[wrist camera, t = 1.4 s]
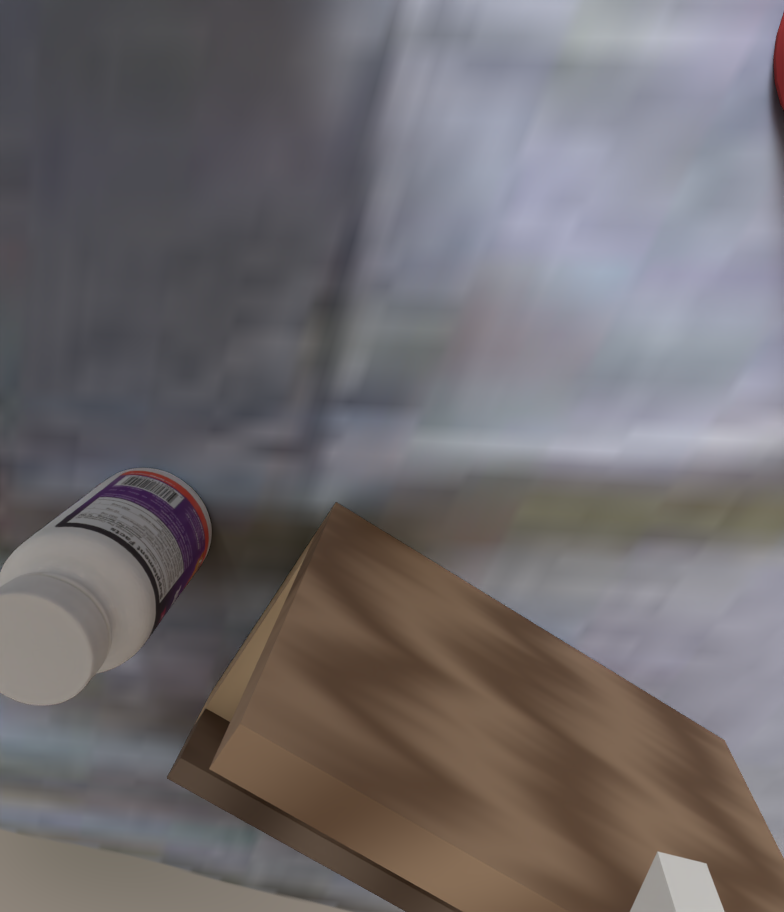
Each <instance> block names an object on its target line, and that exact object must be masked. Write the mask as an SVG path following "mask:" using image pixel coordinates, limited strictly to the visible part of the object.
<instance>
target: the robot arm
mask: <svg viewBox="0 0 784 912" xmlns="http://www.w3.org/2000/svg"><path fill="white" fill-rule="evenodd" d="M630 912H724V909H723V906H722V904H721V901H720V898H719V896H718V893H717V890H716V888H715V885H714V882H713V880H712V877H711V875H710V872H709V869H708V867H707V864H706V863H702V862H698V861H694V860H690V859H686V858H682V857H678V856H674V855H670V854H666V853H662V852H658V851H657V854H656V856H655V858H654V860H653V862H652V864H651V867H650V869H649V871H648V873H647V875H646V878H645V880H644V882H643V884H642V886H641V888H640V891H639V893H638V895H637V897H636V899H635V901H634V904H633V906H632V908H631V910H630Z"/></svg>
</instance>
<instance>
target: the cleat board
mask: <svg viewBox="0 0 784 912" xmlns="http://www.w3.org/2000/svg"><path fill="white" fill-rule="evenodd" d="M167 779H169V780H171V781H173V782H175V783H176V784H178V785H180V786H182V787H184V788H185V789H187V790H189V791H191V792H192V793H194V794H196V795H198V796H200V797H201V798H203V799H205V800H207V801H209V802H210V803H212V804H214V805H216V806H218V807H219V808H221V809H223V810H225V811H227V812H228V813H230V814H232V815H234V816H236V817H237V818H239V819H241V820H243V821H244V822H246V823H248V824H250V825H252V826H253V827H255V828H257V829H259V830H261V831H262V832H264V833H266V834H268V835H270V836H271V837H273V838H275V839H277V840H279V841H280V842H282V843H284V844H286V845H288V846H289V847H291V848H293V849H295V850H297V851H298V852H300V853H302V854H304V855H305V856H307V857H309V858H311V859H313V860H314V861H316V862H318V863H320V864H322V865H323V866H325V867H327V868H329V869H331V870H332V871H334V872H336V873H338V874H340V875H341V876H343V877H345V878H347V879H349V880H350V881H352V882H354V883H356V884H357V885H359V886H361V887H363V888H365V889H366V890H368V891H370V892H372V893H374V894H375V895H377V896H379V897H381V898H383V899H384V900H386V901H388V902H390V903H392V904H393V905H395V906H397V907H399V908H401V909H402V910H404V911H406V912H630V910H631V908H632V906H633V904H634V901H635V899H636V897H637V895H638V893H639V891H640V888H641V886H642V884H643V882H644V880H645V878H646V875H647V873H648V871H649V869H650V867H651V864H652V862H653V860H654V858H655V856H656V854H657V851H658V852H662V853H666V854H670V855H674V856H678V857H682V858H686V859H690V860H694V861H698V862H702V863H706V864H707V867H708V869H709V872H710V875H711V877H712V880H713V882H714V885H715V888H716V890H717V893H718V896H719V898H720V901H721V904H722V906H723V909H724V912H784V858H783V856H782V854H781V852H780V850H779V848H778V846H777V844H776V842H775V840H774V838H773V836H772V834H771V832H770V830H769V828H768V826H767V824H766V822H765V820H764V818H763V816H762V814H761V812H760V810H759V808H758V806H757V804H756V802H755V800H754V798H753V796H752V794H751V792H750V790H749V788H748V786H747V784H746V782H745V780H744V778H743V776H742V774H741V772H740V770H739V768H738V766H737V764H736V762H735V760H734V758H733V756H732V754H731V752H730V750H729V748H728V746H727V744H726V742H725V740H723V739H721V738H720V737H718V736H717V735H715V734H713V733H712V732H710V731H708V730H707V729H705V728H704V727H702V726H700V725H699V724H697V723H695V722H694V721H692V720H691V719H689V718H687V717H686V716H684V715H682V714H681V713H679V712H677V711H676V710H674V709H673V708H671V707H669V706H668V705H666V704H664V703H663V702H661V701H660V700H658V699H656V698H655V697H653V696H651V695H650V694H648V693H647V692H645V691H643V690H642V689H640V688H638V687H637V686H635V685H633V684H632V683H630V682H629V681H627V680H625V679H624V678H622V677H620V676H619V675H617V674H616V673H614V672H612V671H611V670H609V669H607V668H606V667H604V666H603V665H601V664H599V663H598V662H596V661H594V660H593V659H591V658H589V657H588V656H586V655H585V654H583V653H581V652H580V651H578V650H576V649H575V648H573V647H572V646H570V645H568V644H567V643H565V642H563V641H562V640H560V639H558V638H557V637H555V636H554V635H552V634H550V633H549V632H547V631H545V630H544V629H542V628H541V627H539V626H537V625H536V624H534V623H532V622H531V621H529V620H528V619H526V618H524V617H523V616H521V615H519V614H518V613H516V612H514V611H513V610H511V609H510V608H508V607H506V606H505V605H503V604H501V603H500V602H498V601H497V600H495V599H493V598H492V597H490V596H488V595H487V594H485V593H484V592H482V591H480V590H479V589H477V588H475V587H474V586H472V585H470V584H469V583H467V582H466V581H464V580H462V579H461V578H459V577H457V576H456V575H454V574H453V573H451V572H449V571H448V570H446V569H444V568H443V567H441V566H440V565H438V564H436V563H435V562H433V561H431V560H430V559H428V558H426V557H425V556H423V555H422V554H420V553H418V552H417V551H415V550H413V549H412V548H410V547H409V546H407V545H405V544H404V543H402V542H400V541H399V540H397V539H396V538H394V537H392V536H391V535H389V534H387V533H386V532H384V531H382V530H381V529H379V528H378V527H376V526H374V525H373V524H371V523H369V522H368V521H366V520H365V519H363V518H361V517H360V516H358V515H356V514H355V513H353V512H351V511H350V510H348V509H347V508H345V507H343V506H342V505H340V504H338V503H337V502H336V503H335V504H334V506H333V507H332V509H331V510H330V512H329V513H328V515H327V516H326V518H325V520H324V521H323V523H322V524H321V526H320V527H319V529H318V530H317V532H316V533H315V535H314V536H313V538H312V539H311V541H310V542H309V544H308V545H307V547H306V548H305V550H304V552H303V553H302V555H301V556H300V558H299V559H298V561H297V562H296V564H295V565H294V567H293V568H292V570H291V571H290V573H289V574H288V576H287V577H286V579H285V580H284V582H283V584H282V585H281V587H280V588H279V590H278V591H277V593H276V594H275V596H274V597H273V599H272V600H271V602H270V603H269V605H268V606H267V608H266V609H265V611H264V613H263V614H262V616H261V617H260V619H259V620H258V622H257V623H256V625H255V626H254V628H253V629H252V631H251V632H250V634H249V635H248V637H247V638H246V640H245V641H244V643H243V645H242V646H241V648H240V649H239V651H238V652H237V654H236V655H235V657H234V658H233V660H232V661H231V663H230V664H229V666H228V667H227V669H226V670H225V672H224V673H223V675H222V677H221V678H220V680H219V681H218V683H217V684H216V686H215V687H214V689H213V690H212V692H211V694H210V696H209V698H208V700H207V701H206V703H205V705H204V707H203V709H202V711H201V713H200V715H199V717H198V719H197V721H196V723H195V724H194V726H193V728H192V730H191V732H190V734H189V736H188V738H187V740H186V742H185V744H184V746H183V748H182V749H181V751H180V753H179V755H178V757H177V759H176V761H175V763H174V765H173V767H172V769H171V771H170V772H169V774H168V776H167Z"/></svg>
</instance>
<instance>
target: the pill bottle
mask: <svg viewBox="0 0 784 912" xmlns="http://www.w3.org/2000/svg"><path fill="white" fill-rule="evenodd" d="M211 537H212V528H211V522H210V518H209V514H208V512H207V509H206V507H205V505H204V503H203V502H202V500H201V499H200V497H199V496H198V494H197V493H196V492H195V491H194V490H193V489H192V488H191V487H190V486H189V485H188V484H186V483H185V482H184V481H183V480H181V479H179V478H178V477H176V476H174V475H172V474H170V473H168V472H165V471H162V470H159V469H153V468H133V469H128V470H124V471H121V472H119V473H117V474H115V475H113V476H111V477H110V478H108V479H107V480H105V481H104V482H102V483H101V484H99V485H98V486H96V487H95V488H94V489H93V490H91V491H90V492H89V493H87V494H86V495H85V496H83V497H82V498H81V499H80V500H78V501H77V502H76V503H74V504H73V505H72V506H70V507H69V508H68V509H66V510H65V511H64V512H63V513H61V514H60V515H58V516H57V517H56V518H54V519H53V520H52V521H51V522H49V523H48V524H47V525H45V526H44V527H43V528H41V529H40V530H38V531H37V532H36V533H34V534H33V535H32V536H31V537H29V538H28V539H27V540H26V541H25V542H24V543H22V544H21V545H20V546H19V547H18V548H17V549H15V550H14V552H13V553H12V554H11V555H10V556H9V558H8V559H7V560H6V562H5V564H4V565H3V567H2V570H1V572H0V693H2V694H3V695H5V696H7V697H9V698H11V699H13V700H16V701H18V702H22V703H26V704H30V705H53V704H59V703H62V702H64V701H67V700H69V699H71V698H73V697H74V696H76V695H77V694H78V693H80V692H81V690H82V689H83V688H84V687H85V686H86V685H87V684H88V682H89V681H90V680H91V679H92V678H93V677H94V675H95V674H96V673H101V672H105V671H108V670H110V669H113V668H115V667H117V666H119V665H121V664H123V663H124V662H126V661H127V660H129V659H130V658H131V657H133V656H134V655H135V654H136V653H137V652H138V651H139V650H140V648H141V647H142V646H143V645H144V644H145V642H146V641H147V640H148V638H149V637H150V636H151V634H152V633H153V631H154V630H155V628H156V627H157V626H158V624H159V623H160V621H161V620H162V618H163V617H164V616H165V614H166V613H167V611H168V610H169V609H170V607H171V606H172V604H173V603H174V602H175V600H176V599H177V598H178V596H179V595H180V593H181V592H182V591H183V589H184V588H185V587H186V585H187V584H188V582H189V581H190V580H191V578H192V577H193V576H194V574H195V573H196V572H197V570H198V569H199V568H200V566H201V564H202V563H203V561H204V560H205V558H206V556H207V553H208V551H209V548H210V544H211Z"/></svg>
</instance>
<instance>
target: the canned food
mask: <svg viewBox="0 0 784 912" xmlns="http://www.w3.org/2000/svg"><path fill="white" fill-rule="evenodd" d="M773 61H774V78H775V86H776V89H777V93H778V97H779V101H780V105H781V107H782V109H783V111H784V13H783V16H782V20H781V23H780V26H779V29H778V32H777V36H776V43H775V51H774V59H773Z"/></svg>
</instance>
